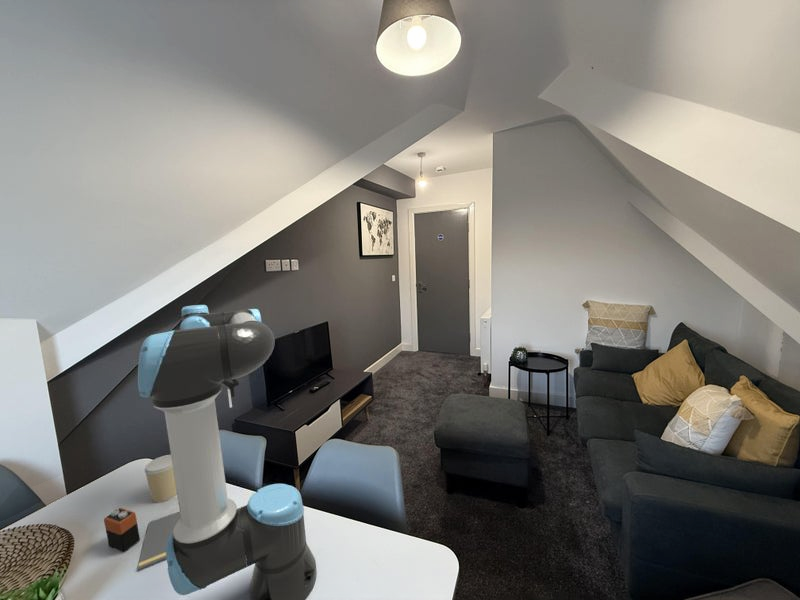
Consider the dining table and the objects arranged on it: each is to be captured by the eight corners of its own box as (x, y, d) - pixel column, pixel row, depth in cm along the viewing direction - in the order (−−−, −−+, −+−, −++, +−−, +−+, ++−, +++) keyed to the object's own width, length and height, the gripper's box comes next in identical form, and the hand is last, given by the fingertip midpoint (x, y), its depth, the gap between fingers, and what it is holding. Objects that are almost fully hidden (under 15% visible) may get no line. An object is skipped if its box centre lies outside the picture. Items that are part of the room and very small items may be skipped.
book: (201, 545, 90) (200, 543, 90) (137, 571, 83) (137, 569, 83) (202, 504, 105) (202, 502, 105) (149, 523, 99) (149, 522, 98)
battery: (123, 553, 89) (118, 520, 87) (108, 547, 91) (102, 515, 90) (141, 540, 93) (135, 508, 91) (125, 534, 95) (120, 504, 94)
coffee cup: (189, 486, 115) (184, 454, 113) (166, 505, 106) (160, 472, 104) (167, 484, 117) (162, 453, 115) (142, 503, 108) (136, 470, 106)
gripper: (240, 342, 117) (247, 398, 120) (156, 355, 105) (165, 417, 107) (242, 346, 111) (249, 405, 113) (152, 361, 98) (162, 427, 101)
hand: (208, 411), depth 110 cm, fingers open, 13 cm apart
